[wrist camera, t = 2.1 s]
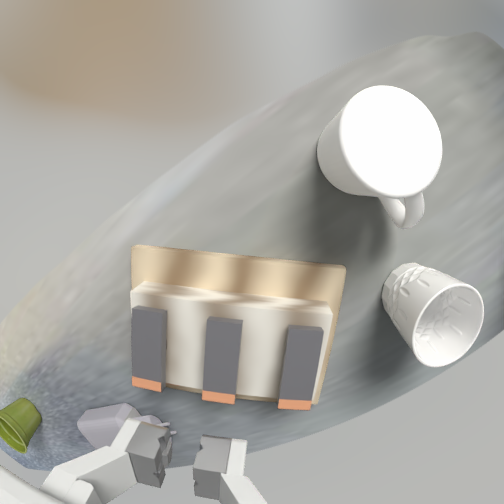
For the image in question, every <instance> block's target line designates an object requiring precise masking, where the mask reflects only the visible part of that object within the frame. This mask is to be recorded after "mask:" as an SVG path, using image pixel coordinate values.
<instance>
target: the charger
mask: <svg viewBox="0 0 504 504" xmlns="http://www.w3.org/2000/svg"><path fill="white" fill-rule="evenodd" d="M128 418H132V419H136V420H139V421H143V422H147V423H150V424H154V425H158V426H162V427H165V426H168V425H170V422H165V423H162V422H161V421H160V420H159V418H157V417H155V416H153V415H147V416H141V415H140V414H139V412H138V411H137V410H136V409H135V408H134V407H132V406H131V405H129V404H127V403H121V404H116V405H111V406H106V407H101V408H95V409H89V410H86V411H85V413H84V414H83V415H82V416H81V418H80V419H79V420H78V422H77V426H78V428H79V430H80V431H81V433H82V434H83V435H84V436H85V437H86V439H87V440H88V441H89V442H90V443H91V444H92V445H93V447H94V448H95V449H96V450H97V449H100V448H102V447H104V446H109V447H110V446H111V444H112V442H113V441H114V439H115V437H116V436H117V434H118V432H119V431H120V429H121V427H122V426H123V424H124V422H125V421H126V420H127V419H128ZM170 432H171V435H172V434H177V431H170ZM169 441H170V442H171V443H172V440H171V437H170V439H169Z"/></svg>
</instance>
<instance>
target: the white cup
mask: <svg viewBox="0 0 504 504" xmlns="http://www.w3.org/2000/svg"><path fill="white" fill-rule="evenodd" d="M381 297H382V301H383V306H384V309H385V310H386V312H387V313H388V314H389V316H390V317H391V320H392V322H393V323H394V325H395V326H396V328H397V330H398V331H399V333H400V334H401V336H402V337H403V339H404V340H405V342H406V343H407V345H408V346H409V347H410V349H411V350H412V352H413V353H414V355H415V356H416V358H417V359H418V360H419V361H420V362H421V363H422V364H424V365H426V366H429V367H442V366H446V365H448V364H451V363H453V362H454V361H456V360H458V359H459V358H460V357H462V356H463V355H464V354H465V353H466V352H467V351H468V350H469V349H470V347H471V346H472V345H473V343H474V342H475V340H476V338H477V336H478V334H479V332H480V330H481V327H482V323H483V318H484V305H483V301H482V298H481V296H480V294H479V292H478V291H477V290H476V289H475V288H474V287H472V286H470V285H468V284H466V283H464V282H462V281H459V280H457V279H455V278H453V277H451V276H449V275H447V274H444V273H442V272H439V271H437V270H434V269H432V268H427V267H425V266H422V265H420V264H417V263H408V264H402V265H401V266H399V267H398V268H397V269H395V270H394V271H392V272H391V274H390V275H389V277H388V278H387V280H386V281H385V283H384V286H383V291H382V296H381Z"/></svg>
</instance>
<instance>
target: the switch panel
mask: <svg viewBox="0 0 504 504" xmlns="http://www.w3.org/2000/svg"><path fill="white" fill-rule="evenodd" d="M346 270H347V269H346V268H345V267H344V266H343V265H335V264H324V263H314V262H304V261H294V260H284V259H274V258H264V257H254V256H244V255H234V254H224V253H214V252H204V251H194V250H185V249H175V248H165V247H156V246H146V245H135V246H133V247H131V278H132V291H130V298H131V317H132V308H133V307H135V306H137V305H139V306H145V307H151V308H157V309H164V310H167V330H166V387H169V388H174V389H179V390H184V391H190V392H196V393H202V391H203V373H204V355H205V339H206V324H207V319H208V318H209V316H213V317H221V318H230V319H239V320H243V327H242V337H241V348H240V358H239V369H238V379H237V390H236V398H238V399H247V400H257V401H268V402H277V400H278V393H279V387H280V380H281V373H282V367H283V360H284V352H285V345H286V338H287V330H288V324H289V325H301V326H315V327H322V329H323V330H324V335H323V341H322V347H321V353H320V359H319V365H318V370H317V376H316V381H315V386H314V391H313V396H312V402H311V404H317V403H318V400H319V396H320V392H321V388H322V384H323V381H324V377H325V373H326V368H327V364H328V360H329V356H330V352H331V347H332V343H333V338H334V333H335V329H336V324H337V319H338V314H339V309H340V304H341V298H342V293H343V287H344V282H345V276H346Z"/></svg>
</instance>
